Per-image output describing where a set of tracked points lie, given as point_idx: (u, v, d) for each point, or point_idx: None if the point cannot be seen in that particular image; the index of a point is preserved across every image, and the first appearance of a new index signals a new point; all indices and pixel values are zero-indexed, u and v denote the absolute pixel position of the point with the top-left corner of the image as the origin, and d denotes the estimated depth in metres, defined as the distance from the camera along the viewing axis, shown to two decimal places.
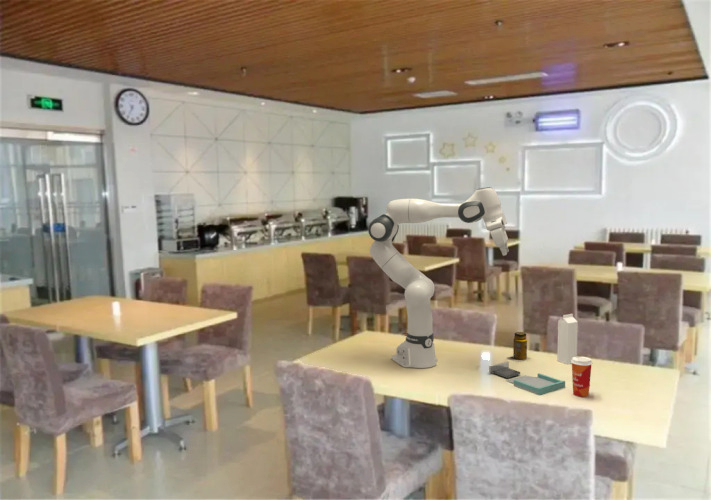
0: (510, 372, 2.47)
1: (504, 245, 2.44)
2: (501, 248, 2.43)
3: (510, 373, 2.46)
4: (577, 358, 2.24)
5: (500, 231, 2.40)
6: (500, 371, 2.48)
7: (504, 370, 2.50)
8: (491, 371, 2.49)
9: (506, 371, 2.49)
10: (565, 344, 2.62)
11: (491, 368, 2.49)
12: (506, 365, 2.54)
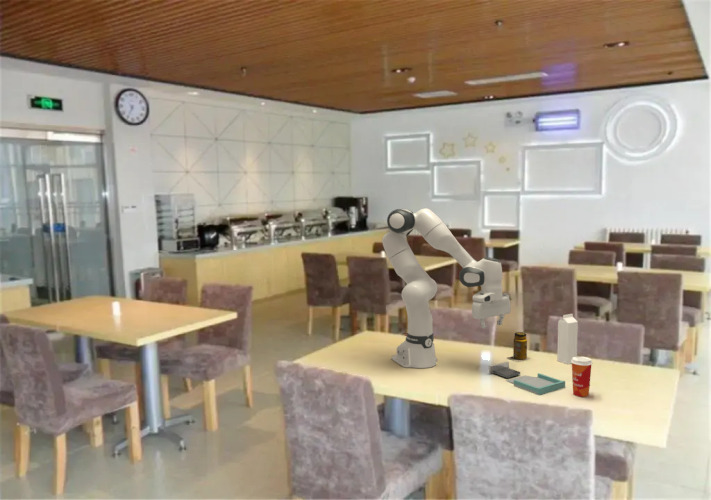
0: (510, 372, 2.47)
1: (484, 319, 2.50)
2: (480, 320, 2.51)
3: (510, 373, 2.46)
4: (577, 358, 2.24)
5: (478, 306, 2.46)
6: (500, 371, 2.48)
7: (504, 370, 2.50)
8: (491, 371, 2.49)
9: (506, 371, 2.49)
10: (565, 344, 2.62)
11: (491, 368, 2.49)
12: (506, 365, 2.54)
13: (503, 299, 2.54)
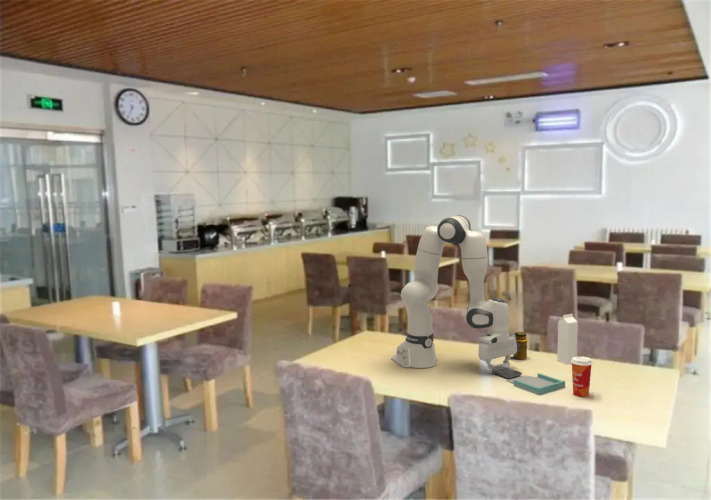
0: (511, 372, 2.46)
1: None
2: (486, 361, 2.49)
3: (511, 373, 2.45)
4: (577, 358, 2.24)
5: (485, 348, 2.45)
6: (501, 371, 2.48)
7: (505, 370, 2.49)
8: (492, 371, 2.49)
9: (507, 371, 2.48)
10: (565, 344, 2.62)
11: (492, 368, 2.48)
12: (507, 365, 2.53)
13: (509, 340, 2.53)
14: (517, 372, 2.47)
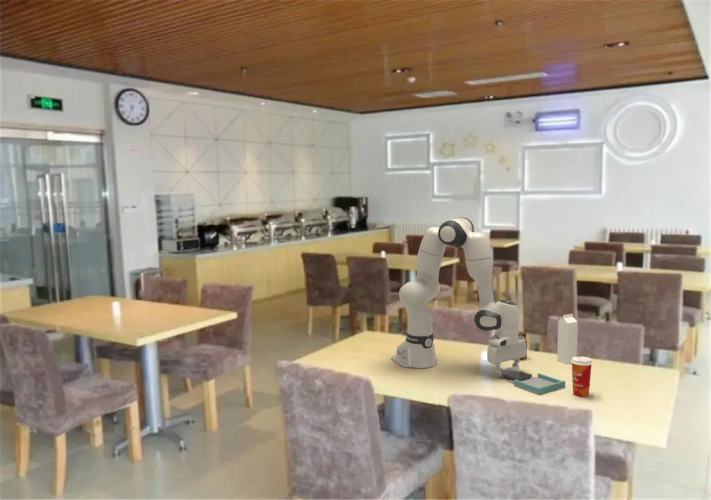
0: (521, 375, 2.41)
1: None
2: (495, 365, 2.45)
3: (521, 376, 2.40)
4: (577, 358, 2.24)
5: (494, 351, 2.41)
6: (511, 374, 2.43)
7: (515, 373, 2.45)
8: (502, 375, 2.44)
9: (517, 374, 2.44)
10: (565, 344, 2.62)
11: (502, 372, 2.44)
12: (517, 369, 2.49)
13: (519, 342, 2.48)
14: (527, 374, 2.42)
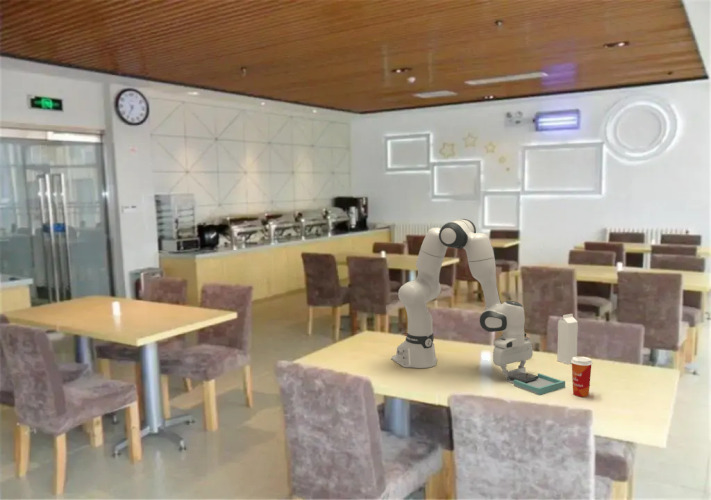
0: (528, 376, 2.39)
1: None
2: (501, 366, 2.42)
3: (528, 377, 2.37)
4: (577, 358, 2.24)
5: (500, 352, 2.38)
6: (517, 376, 2.40)
7: (521, 375, 2.42)
8: (508, 377, 2.41)
9: (523, 375, 2.41)
10: (565, 344, 2.62)
11: (508, 374, 2.41)
12: (523, 370, 2.46)
13: (525, 344, 2.46)
14: (533, 376, 2.39)
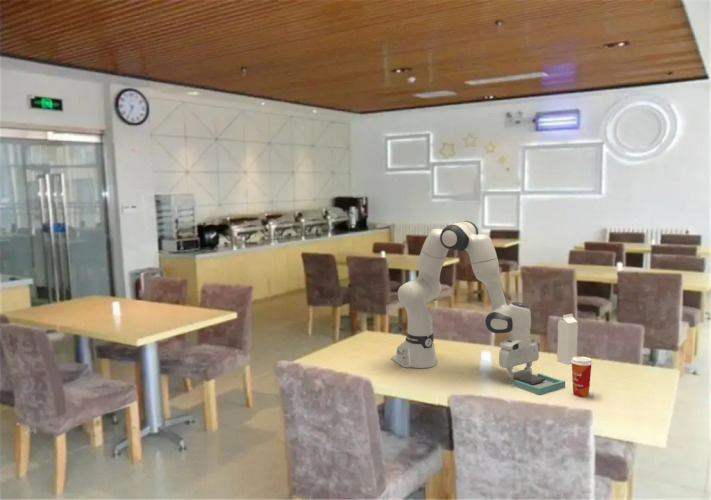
0: (534, 379, 2.36)
1: (512, 367, 2.38)
2: (507, 369, 2.39)
3: (534, 380, 2.35)
4: (577, 358, 2.24)
5: (506, 354, 2.35)
6: (523, 378, 2.37)
7: (528, 376, 2.39)
8: (514, 378, 2.38)
9: (530, 377, 2.38)
10: (565, 344, 2.62)
11: (514, 375, 2.38)
12: (529, 372, 2.43)
13: (531, 346, 2.43)
14: (540, 378, 2.36)
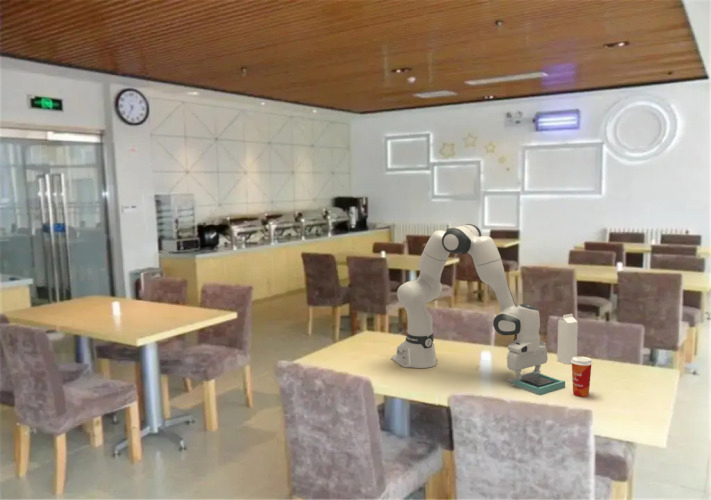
0: (543, 381, 2.32)
1: (520, 370, 2.35)
2: (516, 372, 2.35)
3: (543, 383, 2.31)
4: (577, 358, 2.24)
5: (515, 357, 2.31)
6: (532, 380, 2.34)
7: (536, 379, 2.35)
8: (522, 380, 2.35)
9: (538, 380, 2.34)
10: (565, 344, 2.62)
11: (522, 377, 2.34)
12: (538, 374, 2.39)
13: (540, 348, 2.39)
14: (549, 381, 2.33)
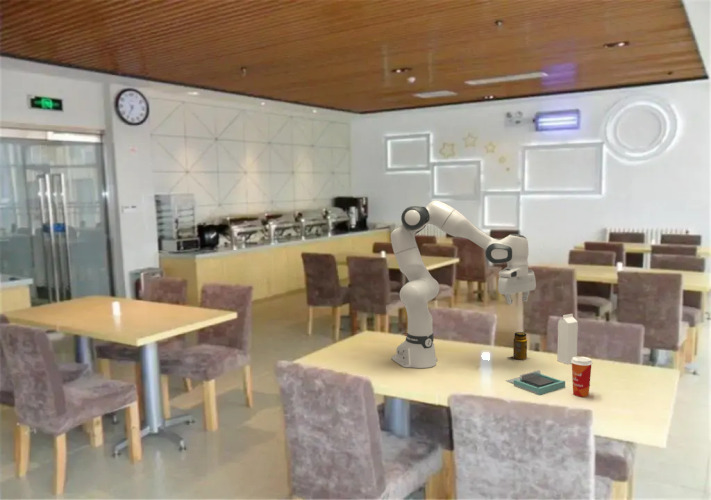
0: (543, 381, 2.32)
1: (510, 295, 2.52)
2: (506, 296, 2.53)
3: (543, 383, 2.31)
4: (577, 358, 2.24)
5: (505, 281, 2.49)
6: (532, 380, 2.34)
7: (536, 379, 2.35)
8: (522, 380, 2.35)
9: (538, 380, 2.34)
10: (565, 344, 2.62)
11: (522, 377, 2.34)
12: (538, 374, 2.39)
13: (529, 275, 2.56)
14: (549, 381, 2.32)
